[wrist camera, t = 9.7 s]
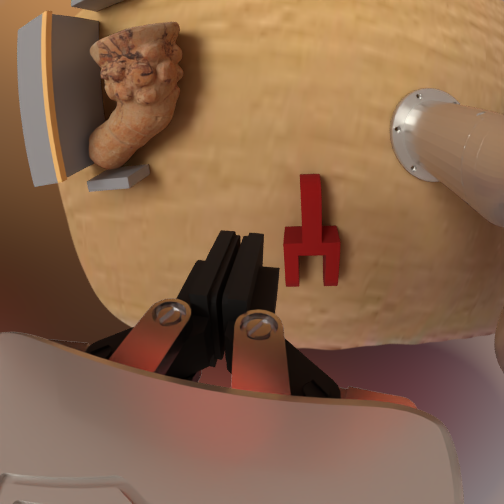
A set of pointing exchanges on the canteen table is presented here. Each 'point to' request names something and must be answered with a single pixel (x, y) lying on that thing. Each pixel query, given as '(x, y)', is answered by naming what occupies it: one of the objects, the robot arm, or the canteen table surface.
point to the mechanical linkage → (311, 236)
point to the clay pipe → (136, 89)
